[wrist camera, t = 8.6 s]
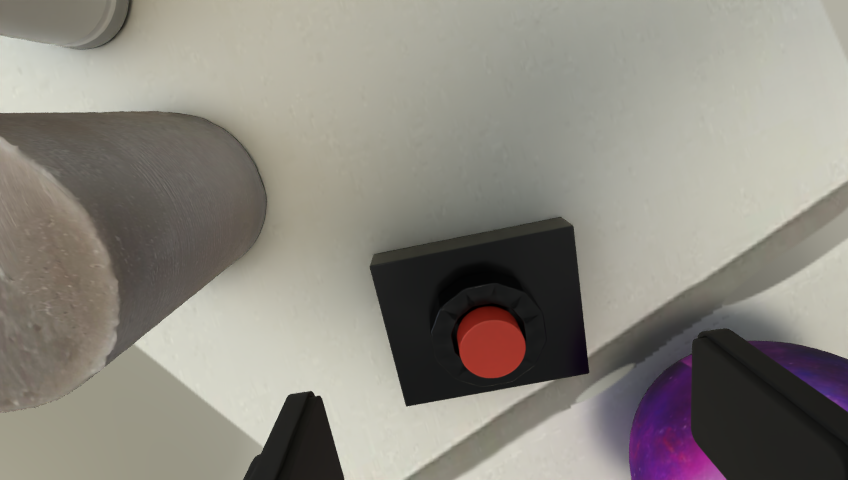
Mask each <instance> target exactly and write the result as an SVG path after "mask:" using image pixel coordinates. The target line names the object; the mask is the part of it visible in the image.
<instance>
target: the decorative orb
mask: <svg viewBox="0 0 848 480" xmlns="http://www.w3.org/2000/svg"><path fill="white" fill-rule="evenodd" d="M747 342H749V343H750V344H751V345H753V346H754V347H756V348H757V349H759V350H760V351H761V352H763V353H764V354H766V355H767V356H769V357H770V358H772V359H773V360H774V361H776V362H777V363H779V364H780V365H782V366H783V367H784V368H786V369H787V370H789V371H790V372H792V373H793V374H794V375H796V376H797V377H799V378H800V379H802V380H803V381H805V382H806V383H807V384H809V385H810V386H812V387H813V388H815V389H816V390H817V391H819V392H820V393H822V394H823V395H825V396H826V397H827V398H829V399H830V400H832V401H833V402H835V403H836V404H838V405H839V406H840V407H842V408H843V409H845V410H846V411H848V359H846V358H843V357H840V356H837V355H835V354H832V353H829V352H825V351H822V350H818V349H815V348H810V347H806V346H802V345H796V344H791V343H783V342H773V341H747ZM691 383H692V354H691V355H689V356H687V357H685V358H683V359H681V360H679V361H678V362H676V363H675V364H673V365H672V366H671V367H669V368H668V369H667V370H665V371H664V372H663V373H662V374H661V375H660V376H659V377H658V378H657V379H656V380H655V381H654V383H653V384H652V385H651V386H650V388H649V389H648V390H647V392H646V393H645V395H644V397H643V398H642V400H641V402H640V404H639V406H638V409H637V411H636V414H635V417H634V420H633V424H632V428H631V433H630V443H629V464H630V472H631V479H632V480H727V479H726V478H725V477H724V476H723V475H722V474H721V472H720V471H719V470H718V469H717V468H716V466H715V465H714V464H713V463H712V462H711V460H710V459H709V458H708V457H707V456H706V454H705V453H704V452H703V451H702V450H701V449H700V447H699V446H698V445H697V443H696V442H695V440H694V438H693V436H692V432H691Z"/></svg>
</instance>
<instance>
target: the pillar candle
mask: <svg viewBox="0 0 848 480" xmlns="http://www.w3.org/2000/svg"><path fill="white" fill-rule="evenodd" d="M265 212H266V196H265V191H264V187H263V184H262V182H261V180H260V177H259V174H258V171H257V169H256V167H255V165H254V163H253V162H252V160H251V158H250V157H249V155H248V153H247V152H246V150H245V149H244V148H243V147H242V145H241V144H240V143H239V142H238V141H237V140H236V139H235V138H234V137H233V136H232V135H230V134H229V133H228V132H226V131H225V130H224V129H223V128H221V127H219V126H217V125H214V124H212V123H210V122H209V121H208V120H206V119H203V118H200V117H196V116H191V115H186V114H179V113H171V112H168V113H166V112H159V111H147V112H145V111H143V112H135V111H131V112H123V111H120V112H103V113H98V112H88V113H0V412H1V413H3V412H9V411H16V410H22V409H27V408H35V407H38V406H40V405H44V404H46V403H49V402H52V401H54V400H58V399H60V398H61V397H63V396H65V395H67V394H69V393H70V392H72V391H73V390H75V389H77V388H78V387H79V386H81V385H82V384H84V383H85V382H86V381H88V380H89V379H90V378H91V377H93V376H94V375H95V374H96V373H98V372H100V370H102V369H103V368H104V367H105V366H106V365H108V364H109V363H110V362H111V361H113V360H114V359H115V358H116V357H117V356H119V355H120V354H121V353H122V352H124V351H125V350H127V349H128V348H129V347H130V346H131V345H133V344H134V343H135V342H136V341H137V340H138V339H140V338H141V337H142V336H143V335H145V334H146V333H147V332H148V331H150V330H151V329H152V328H153V327H155V326H156V325H157V324H158V323H160V322H161V321H162V320H163V319H164V318H166V317H167V316H168V315H169V314H171V313H172V312H173V311H174V310H175V309H177V308H178V307H179V306H180V305H182V304H183V303H184V302H185V301H187V300H188V299H189V298H190V297H192V296H193V295H194V294H196V293H197V292H198V291H199V290H201V289H202V288H203V287H204V286H205V285H207V284H208V283H209V282H210V281H211V280H213V279H214V278H215V277H216V276H218V275H219V274H220V273H221V272H223V271H224V270H225V269H226V268H227V267H229V266H230V265H231V264H232V263H234V262H235V261H236V260H237V259H239V258H240V257H241V256H242V255H244V254H245V253H246V252H247V251H248V250H249V249H250V248H251V246H252V245H253V243H254V242H255V241H256V239H257V237H258V235H259V234H260V231H261V228H262V226H263V222H264V219H265Z"/></svg>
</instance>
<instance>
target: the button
mask: <svg viewBox="0 0 848 480" xmlns="http://www.w3.org/2000/svg"><path fill="white" fill-rule="evenodd" d="M457 341H458V347H459V353H460V357H461V360H462V362H463V364H464V366H465V367H466V368H467V369H468V370H469V371H470V372H472V373H473V374H475V375H477V376H480V377H484V378H498V377H502V376H505V375H507V374H509V373H511V372H512V371H514V370H515V369H516V368H517V367H518V366H519V365H520V363H521V362H522V360H523V358H524V355H525V351H526V344H525V339H524V337H523V334H522V332H521V330H520V328H519V326H518V324H517V322H516V320H515V318H514V317H513V316H512V315H511V314H510V313H509V312H508V311H506V310H504V309H502V308H499V307H494V306H485V307H480V308H477V309H474V310H473V311H471V312H469V313H468V314H467V315H466V316H465V317H464V318H463V319H462V321H461V322H460V324H459V327H458V330H457Z"/></svg>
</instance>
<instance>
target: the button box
mask: <svg viewBox="0 0 848 480" xmlns="http://www.w3.org/2000/svg"><path fill="white" fill-rule="evenodd" d="M370 270H371V274H372V277H373V281H374V285H375V289H376V293H377V297H378V301H379V304H380V308H381V312H382V316H383V320H384V324H385V327H386V331H387V335H388V339H389V343H390V347H391V350H392V354H393V358H394V362H395V366H396V370H397V374H398V377H399V381H400V385H401V389H402V393H403V397H404V400H405V404H406V406H412V405H417V404H423V403H428V402H434V401H439V400H445V399H450V398H456V397H461V396H467V395H472V394H478V393H483V392H489V391H494V390H500V389H506V388H511V387H517V386H522V385H528V384H533V383H539V382H544V381H550V380H555V379H561V378H566V377H572V376H577V375H583V374H588V373H589V366H588V357H587V348H586V338H585V329H584V320H583V311H582V301H581V292H580V283H579V274H578V264H577V255H576V246H575V237H574V227H573V225H571V224H570V223H569V222H567V221H566V220H565V219H563V218H562V217H558V218H553V219H548V220H543V221H538V222H533V223H528V224H523V225H518V226H513V227H508V228H503V229H498V230H493V231H488V232H483V233H478V234H473V235H468V236H463V237H458V238H453V239H448V240H443V241H438V242H433V243H428V244H423V245H418V246H413V247H408V248H403V249H398V250H393V251H388V252H383V253H378V254H374V255H373V258H372V261H371V264H370ZM485 306H494V307H499V308H502V309H504V310H506V311H508V312H509V313H510V314H511V315H512V316H513V317H514V318H515V320H516V322H517V324H518V326H519V328H520V330H521V332H522V334H523V337H524V339H525V344H526V351H525V355H524V358H523V360H522V362H521V363H520V365H519V366H518V367H517V368H516V369H515V370H514V371H512V372H511V373H509V374H507V375H505V376H502V377H498V378H484V377H480V376H477V375H475V374H473V373H472V372H470V371H469V370H468V369H467V368H466V367H465V366H464V364H463V362H462V360H461V357H460V353H459V347H458V341H457V330H458V327H459V324H460V322H461V321H462V319H463V318H464V317H465V316H466V315H467V314H468V313H469V312H471V311H473V310H474V309H477V308H480V307H485Z"/></svg>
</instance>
